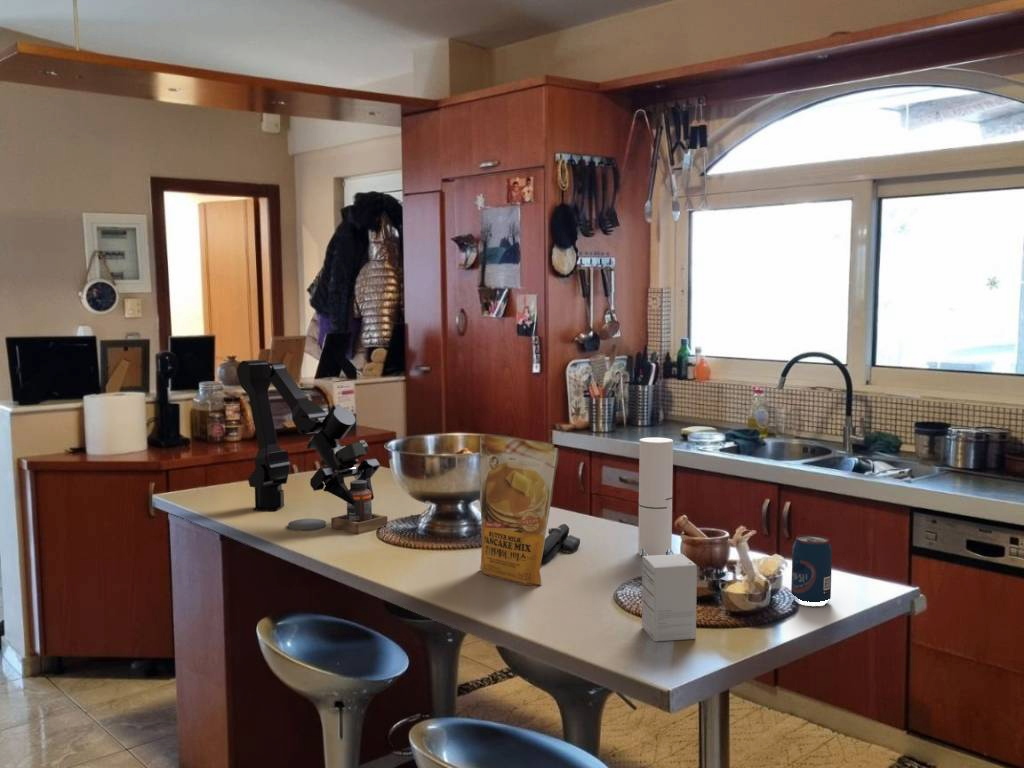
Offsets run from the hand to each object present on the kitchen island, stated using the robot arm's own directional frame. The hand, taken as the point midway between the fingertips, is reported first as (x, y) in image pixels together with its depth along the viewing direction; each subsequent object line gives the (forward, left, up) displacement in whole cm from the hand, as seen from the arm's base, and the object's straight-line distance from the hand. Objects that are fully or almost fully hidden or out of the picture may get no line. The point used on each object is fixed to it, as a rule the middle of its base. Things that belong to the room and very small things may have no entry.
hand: (363, 501), depth 236 cm
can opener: (+47, -19, -7) cm, 51 cm away
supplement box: (+69, -66, -7) cm, 96 cm away
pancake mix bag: (+40, -36, -7) cm, 54 cm away
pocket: (-1, +1, -7) cm, 7 cm away
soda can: (+96, -47, -7) cm, 107 cm away
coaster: (-14, +1, -7) cm, 16 cm away
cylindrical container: (+69, -16, -7) cm, 71 cm away
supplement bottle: (-1, +1, -7) cm, 7 cm away
